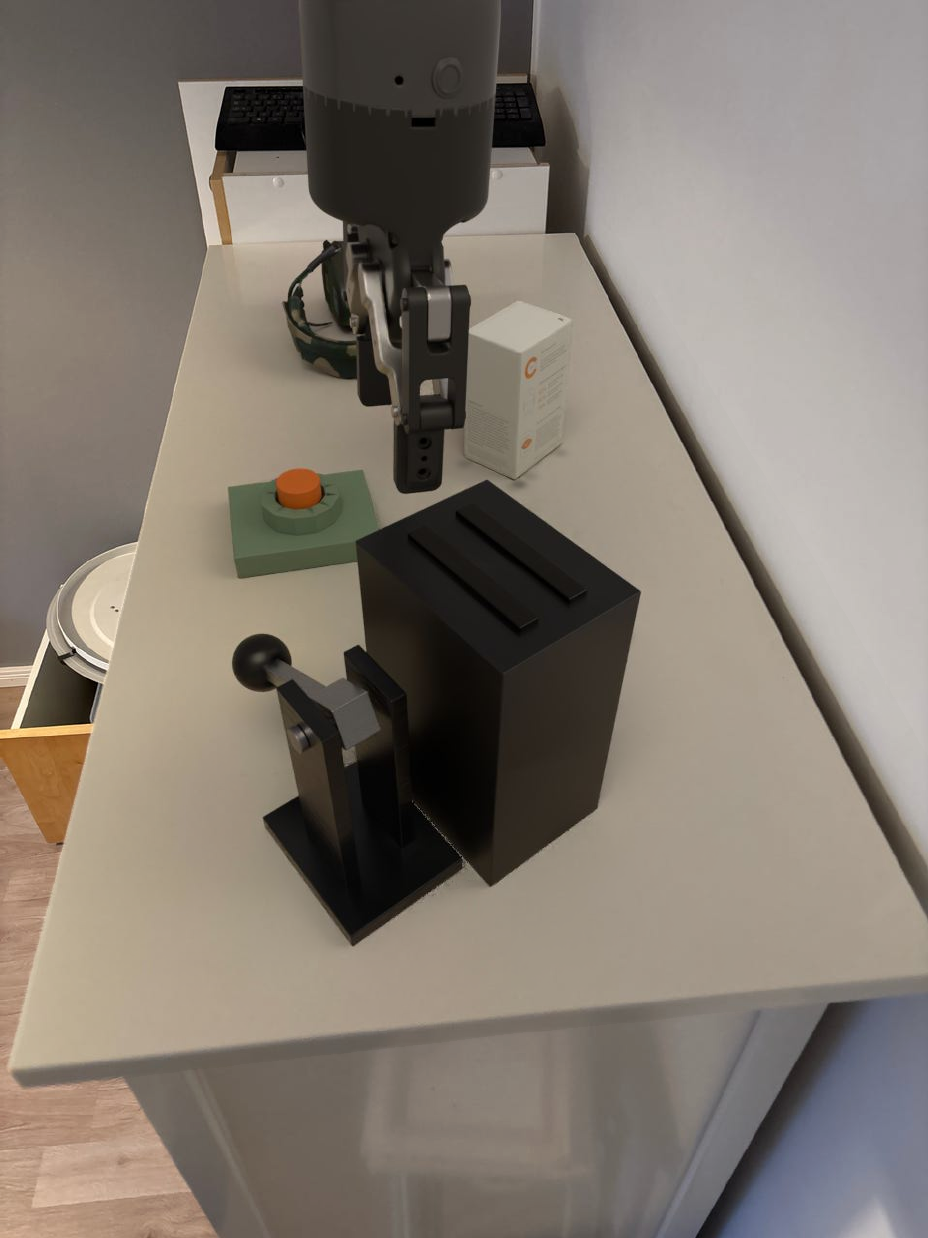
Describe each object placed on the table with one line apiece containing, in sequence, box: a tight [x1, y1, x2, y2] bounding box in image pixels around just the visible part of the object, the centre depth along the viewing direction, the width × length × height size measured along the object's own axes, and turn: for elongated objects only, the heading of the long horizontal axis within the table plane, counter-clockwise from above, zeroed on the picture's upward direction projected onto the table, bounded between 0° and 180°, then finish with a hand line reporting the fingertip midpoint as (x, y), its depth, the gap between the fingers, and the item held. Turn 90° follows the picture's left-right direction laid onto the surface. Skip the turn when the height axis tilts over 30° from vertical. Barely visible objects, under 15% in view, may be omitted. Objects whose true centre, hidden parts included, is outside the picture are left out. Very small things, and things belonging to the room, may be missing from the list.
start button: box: [276, 467, 322, 510], centre depth 74 cm, size 4×4×2 cm
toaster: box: [355, 479, 642, 888], centre depth 52 cm, size 12×9×19 cm
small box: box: [463, 300, 574, 480], centre depth 82 cm, size 8×6×13 cm
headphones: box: [281, 239, 402, 379], centre depth 100 cm, size 13×13×20 cm
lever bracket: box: [262, 644, 463, 947], centre depth 50 cm, size 10×8×15 cm
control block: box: [227, 469, 381, 579], centre depth 76 cm, size 12×10×4 cm
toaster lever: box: [231, 633, 381, 751], centre depth 50 cm, size 14×4×4 cm, turn 39°
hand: (397, 443), depth 45 cm, fingers open, 8 cm apart
